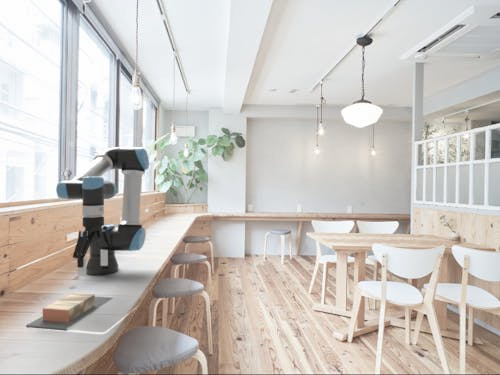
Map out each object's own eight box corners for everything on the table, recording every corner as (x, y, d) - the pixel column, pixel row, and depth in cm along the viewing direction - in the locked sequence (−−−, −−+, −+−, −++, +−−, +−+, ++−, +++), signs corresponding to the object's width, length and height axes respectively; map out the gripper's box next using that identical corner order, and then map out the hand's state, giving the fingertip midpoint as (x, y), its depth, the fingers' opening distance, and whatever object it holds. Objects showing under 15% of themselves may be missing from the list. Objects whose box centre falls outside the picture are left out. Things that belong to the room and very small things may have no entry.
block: (72, 293, 118) (42, 308, 104) (94, 294, 117) (67, 310, 103) (72, 303, 118) (42, 320, 104) (94, 305, 117) (67, 322, 103)
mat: (81, 296, 126) (81, 295, 126) (113, 299, 124) (113, 297, 124) (26, 327, 101) (26, 325, 101) (65, 330, 99) (65, 328, 99)
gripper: (80, 220, 110) (80, 281, 110) (120, 212, 134) (120, 262, 135) (61, 220, 111) (61, 279, 111) (103, 212, 135) (104, 261, 136)
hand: (93, 270), depth 123 cm, fingers open, 13 cm apart
